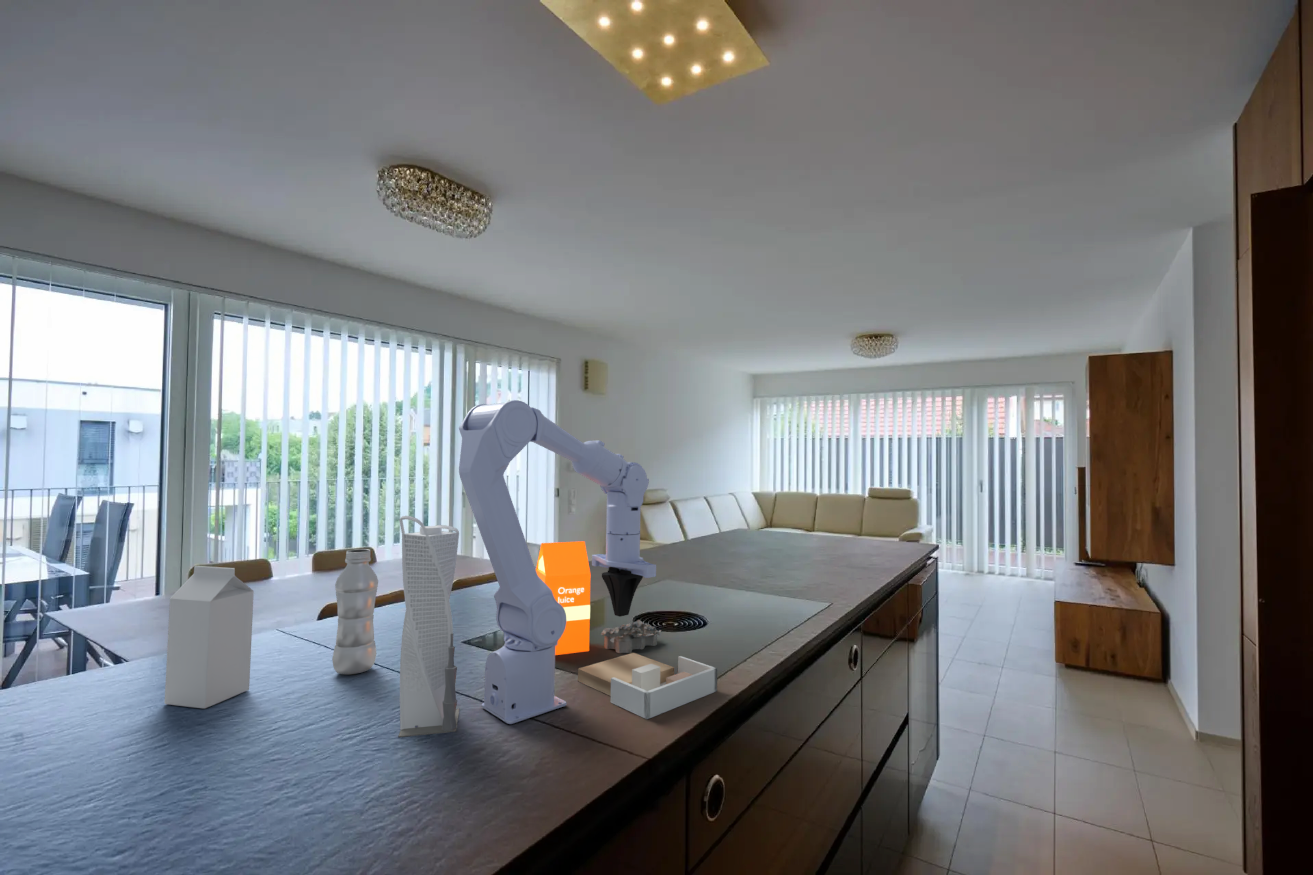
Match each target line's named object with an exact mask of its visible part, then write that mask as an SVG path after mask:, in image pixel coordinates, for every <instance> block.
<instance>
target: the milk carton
mask: <svg viewBox="0 0 1313 875" xmlns="http://www.w3.org/2000/svg"><path fill="white" fill-rule="evenodd" d="M235 571H236V570H235V567H219V566H202V565H194V568H193V574H192V575H191V576H189V578H188V579H187V580H186V581H185V582H184V583H183V584H182V585H181V586H180V587H179V588H178V589H177V590H176V591H175V592H174V593H173V594H172V595H171V596H170V598H169V610H168V625H167V626H168V628H167V629H168V631H167V632H168V633H167V648H166V649H167V650H166V666H165V667H166V668H165V685H164V686H165V688H164V705H170V706H171V705H172V706H178V707H179V706H180V707H188V708H195V709H207V708H209V707H211V706H214V705H217V704H220V703H221V702H224V701H226V700H229V699H231V698H233V697H236V696H239V695H240V694H242V693H245V692H247V691H249V690H250V681H251V677H250V676H251V661H252V660H251V656H252V638H253V617H254V616H253V615H254V613H253V611H254V596H255V595H254V594H255V593H254V590H253V589H252V588H251V587H249V586H248V585H247V584H246V583H245V582H243V581H242V580H241V579H239V578H238V577H237V576H236V575H235V573H236V572H235Z"/></svg>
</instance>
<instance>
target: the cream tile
mask: <svg viewBox="0 0 1313 875" xmlns="http://www.w3.org/2000/svg"><path fill="white" fill-rule="evenodd" d="M632 685H634V686H636V687H639V688H641V689H644V690H646V691H649V690H652V689H655V688H658V687H660V667H659V666H657V665H654V664H648V665H645V666H642V667H639V668H636V669H633V670H632Z"/></svg>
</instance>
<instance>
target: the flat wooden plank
mask: <svg viewBox="0 0 1313 875" xmlns="http://www.w3.org/2000/svg"><path fill="white" fill-rule="evenodd" d="M648 664H654V665H657V666H659V667H660V684H661V683H664V682H666V678H667V677H670V676H673V675H675V666H672V665H669V664H665V663H663V662H660V661H657V660H655V659H652V658H649V657H647V656H643V655H641V654H639V653H636V652H631V653H626V654H624V655H620V656H617V657H614V658H609V659H607V660H604V661H600V662H596V663H592V664H590V665H589V664H588V665H586V666H582V667H579V668H578V669H577V682H579V683H580V684H583V685H585V686H588V687H590V688H592V689H593V690H596V691H598V692H600V693H603V694H604V695H605V694H606V695H608V696H610V697H611V678H613V677H615V678H617V679H620V680H622V681H624V682H627V683H629V684H632V670H633V669H636V668H639V667H642V666H645V665H648Z"/></svg>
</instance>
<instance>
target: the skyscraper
mask: <svg viewBox="0 0 1313 875" xmlns="http://www.w3.org/2000/svg"><path fill="white" fill-rule="evenodd" d="M404 520H407V521H408V520H409V521H413V522H415V523H416V524H418V525H419V526H420V527H419V531H418V532H408V533H406V532H405V527H404V522H403V521H404ZM399 525H400V530H401V531H400V532H401V557H402V558H401V560H402V563H401V564H402V581H403V582H402V584H403V585H402V586H403V595H404V604H405V613H404V619H403V625H402V634H401V642H400V643H401V644H400V659H399V660H400V661H399V662H400V663H399V664H400V666H399V719H400V721H399V726H400V731H399V733H398V737H397V738H405V737H416V736H424V735H434V734H435V735H436V734H444V733H445V734H446V733H455V732H457V728H458V723H459V722H458V721H459V716H460V708H457V704H458V699H457V695H456V694H457V692H456V683H457V671H458V666H456V664H455V658H454V657H455V650H456V646H454V627H453V626H454V625H453V614H452V610H451V608H452V607H451V603H450V599H451V598H450V597H451V594H452V588H453V583H454V578H455V573H456V572H455V571H456V565H457V556H458V549H459V548H458V547H459V536H460V532H459V531H460V530H459V529H458V528H456V527H454V526H451V525H446V524H445V525H444V524H436V525H424V523H423V522H422V521H421V520H420V519H418V518H416V517H414V516H410V515H402V516H400V518H399ZM444 529H445V530H449V531H444ZM452 531H453V532H452Z"/></svg>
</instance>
